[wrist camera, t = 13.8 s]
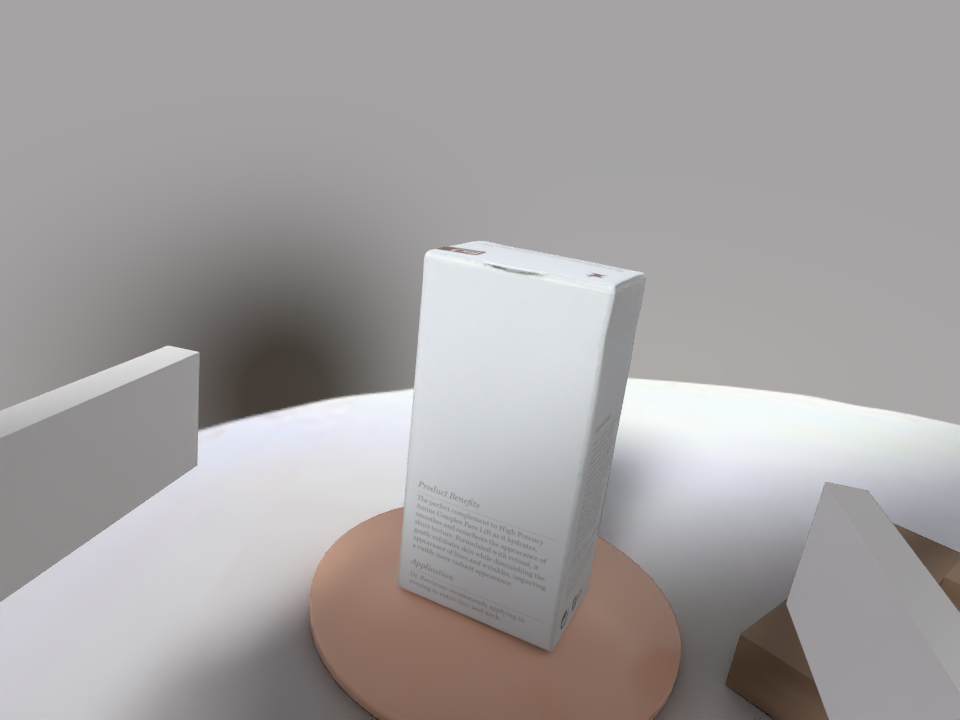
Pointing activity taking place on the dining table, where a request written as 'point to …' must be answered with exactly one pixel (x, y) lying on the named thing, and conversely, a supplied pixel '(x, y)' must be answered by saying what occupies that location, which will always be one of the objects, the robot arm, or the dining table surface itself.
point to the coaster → (488, 643)
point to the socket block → (779, 654)
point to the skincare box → (514, 431)
